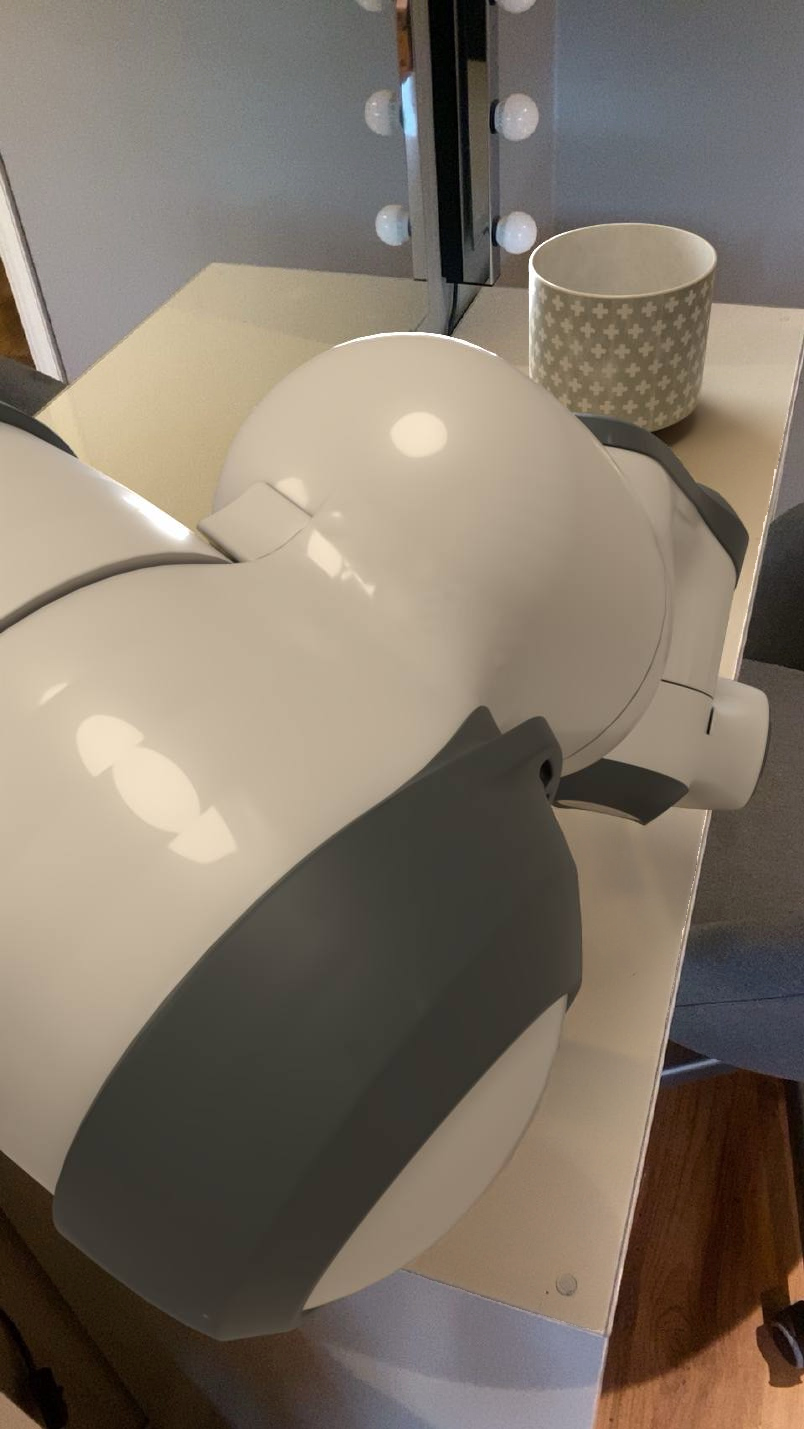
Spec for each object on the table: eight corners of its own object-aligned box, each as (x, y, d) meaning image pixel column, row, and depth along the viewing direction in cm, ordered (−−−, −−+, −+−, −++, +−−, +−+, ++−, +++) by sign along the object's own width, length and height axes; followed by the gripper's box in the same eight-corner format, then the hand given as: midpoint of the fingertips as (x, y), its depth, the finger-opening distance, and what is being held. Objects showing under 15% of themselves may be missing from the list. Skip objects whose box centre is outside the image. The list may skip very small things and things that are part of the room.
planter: (644, 478, 111) (659, 311, 99) (497, 432, 121) (493, 274, 108) (727, 401, 121) (750, 240, 108) (584, 364, 130) (590, 212, 118)
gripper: (542, 570, 72) (355, 544, 76) (451, 786, 58) (230, 740, 62) (541, 640, 76) (364, 612, 80) (457, 856, 63) (250, 809, 67)
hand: (305, 669), depth 71 cm, fingers closed on lotion bottle, 4 cm apart
